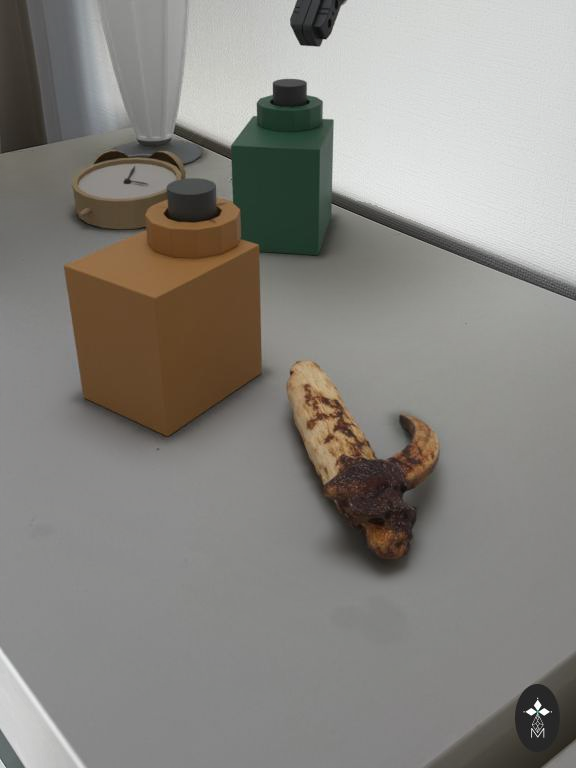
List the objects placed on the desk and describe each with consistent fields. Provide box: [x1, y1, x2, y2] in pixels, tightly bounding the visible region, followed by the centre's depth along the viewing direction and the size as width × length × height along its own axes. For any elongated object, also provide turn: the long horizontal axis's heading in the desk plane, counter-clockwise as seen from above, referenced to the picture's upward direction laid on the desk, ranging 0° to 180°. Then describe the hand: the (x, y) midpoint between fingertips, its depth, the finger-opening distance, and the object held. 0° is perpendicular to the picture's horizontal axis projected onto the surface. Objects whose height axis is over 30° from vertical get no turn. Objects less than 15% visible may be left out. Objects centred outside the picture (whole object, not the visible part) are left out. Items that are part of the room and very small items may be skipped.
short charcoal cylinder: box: [272, 78, 308, 107], centre depth 82 cm, size 3×3×2 cm
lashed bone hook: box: [285, 360, 441, 560], centre depth 52 cm, size 9×5×18 cm
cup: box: [96, 0, 202, 166], centre depth 102 cm, size 12×12×22 cm
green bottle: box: [230, 94, 335, 256], centre depth 83 cm, size 11×8×12 cm
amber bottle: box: [63, 197, 263, 437], centre depth 59 cm, size 11×8×12 cm
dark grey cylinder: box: [167, 177, 217, 223], centre depth 57 cm, size 3×3×2 cm
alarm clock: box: [71, 149, 187, 230], centre depth 92 cm, size 11×5×15 cm
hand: (306, 39), depth 63 cm, fingers closed
